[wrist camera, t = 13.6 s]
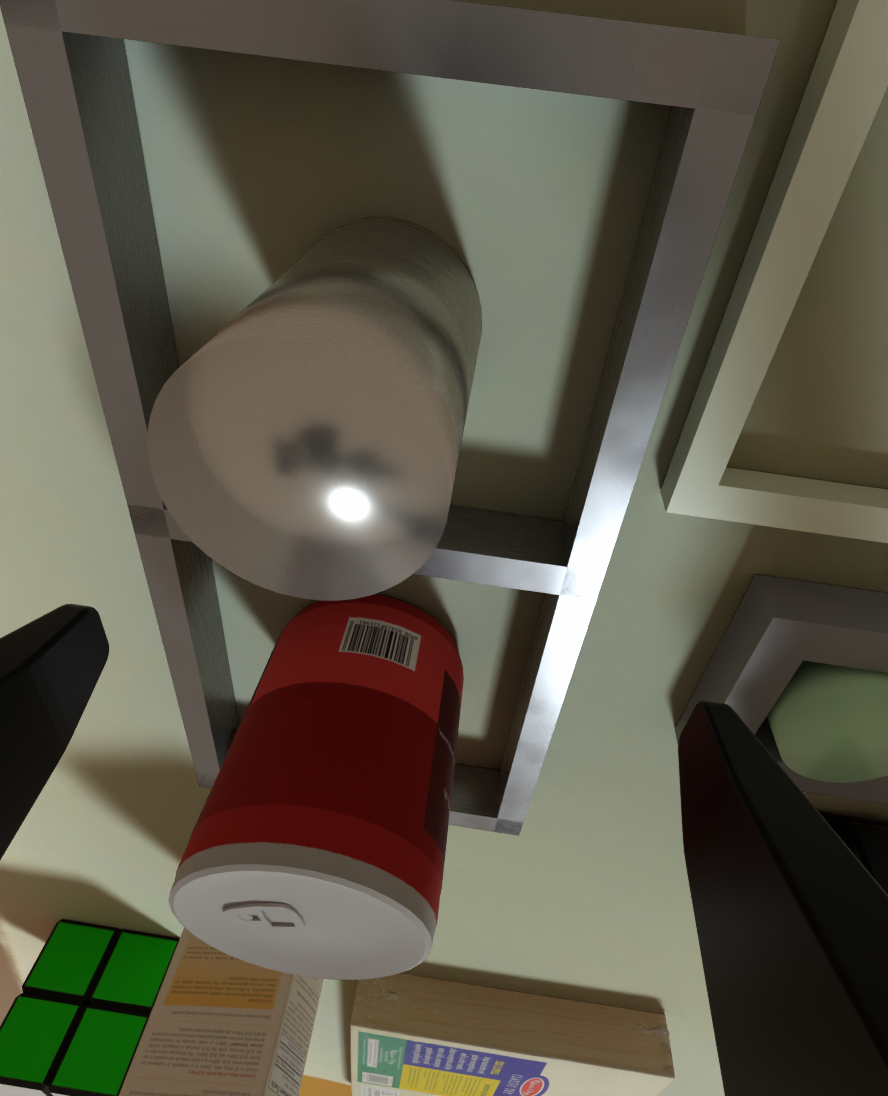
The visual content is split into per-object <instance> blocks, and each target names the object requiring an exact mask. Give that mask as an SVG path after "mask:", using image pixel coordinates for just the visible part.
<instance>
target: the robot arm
mask: <svg viewBox="0 0 888 1096" xmlns="http://www.w3.org/2000/svg"><path fill="white" fill-rule="evenodd" d="M108 655H109V643H108V640H107V637H106V634H105V631H104V628H103V625H102V622H101V619H100V616H99V613H98V611H97V610H96V609H95V608H93V607H89V606H82V605H76V604H66V605H63V606H61V607H59V608H57V609H55V610H53V611H51V612H49V613H47V614H45V615H44V616H42V617H40V618H38V619H36V620H34V621H32V622H30V623H28V624H27V625H25V626H23V627H21V628H19V629H17V630H15V631H13V632H11V633H10V634H8V635H6V636H4V637H2V638H0V860H1V858H2V857H3V855H4V853H5V851H6V850H7V848H8V846H9V845H10V843H11V841H12V840H13V838H14V836H15V835H16V833H17V831H18V830H19V828H20V826H21V825H22V823H23V821H24V819H25V818H26V816H27V814H28V813H29V811H30V809H31V808H32V806H33V804H34V803H35V801H36V799H37V798H38V796H39V794H40V793H41V791H42V789H43V787H44V786H45V784H46V782H47V781H48V779H49V777H50V776H51V774H52V772H53V771H54V769H55V767H56V766H57V764H58V762H59V760H60V759H61V757H62V755H63V753H64V751H65V750H66V748H67V746H68V744H69V742H70V740H71V738H72V736H73V733H74V731H75V729H76V727H77V725H78V723H79V720H80V718H81V716H82V714H83V712H84V709H85V707H86V705H87V703H88V701H89V698H90V696H91V694H92V692H93V690H94V688H95V685H96V683H97V681H98V679H99V677H100V674H101V672H102V670H103V668H104V666H105V664H106V661H107V658H108ZM678 757H679V776H680V795H681V813H682V832H683V845H684V854H685V861H686V868H687V874H688V880H689V886H690V892H691V898H692V904H693V909H694V915H695V921H696V927H697V933H698V939H699V945H700V951H701V957H702V963H703V969H704V975H705V981H706V986H707V992H708V998H709V1004H710V1010H711V1016H712V1022H713V1028H714V1034H715V1040H716V1046H717V1052H718V1057H719V1063H720V1069H721V1075H722V1081H723V1087H724V1093H725V1096H888V823H883V822H876V821H870V820H863V819H857V818H850V817H844V816H837V815H831V814H824V813H819V812H818V811H817V809H816V808H815V807H814V806H813V805H812V803H811V802H810V801H809V800H808V799H807V797H806V796H805V795H804V794H803V793H802V791H801V790H800V789H799V788H798V787H797V785H796V784H795V783H794V782H793V781H792V779H791V778H790V777H789V776H788V775H787V773H786V772H785V771H784V770H783V769H782V767H781V766H780V765H779V764H778V762H777V761H776V760H775V759H774V758H773V756H772V755H771V754H770V753H769V752H768V750H767V749H766V748H765V747H764V746H763V744H762V743H761V742H760V741H759V740H758V738H757V737H756V736H755V735H754V734H753V732H752V731H751V730H750V729H749V728H748V726H747V725H746V724H745V723H744V722H743V720H742V719H741V718H740V717H739V716H738V714H737V713H736V712H735V711H734V710H733V708H732V707H730V706H729V705H727V704H725V703H720V702H714V701H707V700H700V701H698V702H697V703H696V705H695V706H694V708H693V710H692V712H691V714H690V716H689V718H688V720H687V722H686V723H685V725H684V727H683V729H682V731H681V734H680V737H679V742H678Z"/></svg>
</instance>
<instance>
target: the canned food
mask: <svg viewBox="0 0 888 1096" xmlns="http://www.w3.org/2000/svg"><path fill="white" fill-rule="evenodd" d="M463 680H464V677H463V666H462V663H461V659H460V655H459V652H458V649H457V647H456V644H455V642H454V640H453V638H452V637H451V635H450V634H449V632H448V631H447V630H446V629H445V628H444V627H443V626H442V625H441V624H440V623H439V622H438V621H437V620H436V619H435V618H433V617H432V616H430V615H429V614H428V613H426V612H425V611H423V610H422V609H419V608H417V607H415V606H413V605H411V604H409V603H407V602H404V601H401V600H397V599H394V598H391V597H387V596H381V595H375V594H373V595H370V596H365V597H361V598H356V599H348V600H339V601H321V600H319V601H317V602H315V603H313V604H311V605H309V606H308V607H306V608H305V609H303V610H302V611H301V612H300V613H299V614H298V615H297V616H296V617H295V618H294V619H293V620H292V621H291V622H290V623H289V624H288V625H287V626H286V627H285V628H284V630H283V631H282V633H281V634H280V636H279V638H278V640H277V642H276V644H275V647H274V649H273V651H272V653H271V656H270V658H269V660H268V662H267V665H266V667H265V669H264V672H263V674H262V676H261V678H260V681H259V683H258V685H257V687H256V690H255V692H254V694H253V696H252V699H251V701H250V703H249V706H248V708H247V710H246V712H245V715H244V717H243V719H242V721H241V724H240V726H239V728H238V730H237V733H236V735H235V737H234V740H233V742H232V744H231V746H230V749H229V751H228V753H227V755H226V758H225V760H224V762H223V764H222V767H221V769H220V771H219V774H218V776H217V778H216V780H215V783H214V785H213V787H212V789H211V792H210V794H209V796H208V798H207V801H206V803H205V805H204V808H203V810H202V812H201V814H200V817H199V819H198V821H197V823H196V826H195V828H194V830H193V832H192V835H191V838H190V840H189V843H188V846H187V848H186V850H185V853H184V855H183V857H182V860H181V862H180V864H179V866H178V869H177V872H176V877H175V881H174V884H173V886H172V888H171V891H170V896H169V904H170V907H171V910H172V912H173V914H174V915H175V917H176V918H177V919H178V921H179V922H180V923H181V924H182V925H183V926H184V927H185V928H186V929H188V930H189V931H190V932H191V933H192V934H193V935H195V936H196V937H198V938H199V939H201V940H202V941H204V942H205V943H207V944H208V945H210V946H212V947H214V948H216V949H218V950H220V951H222V952H224V953H226V954H228V955H230V956H233V957H235V958H238V959H240V960H243V961H245V962H248V963H251V964H254V965H258V966H261V967H264V968H267V969H271V970H276V971H280V972H284V973H288V974H294V975H300V976H306V977H312V978H323V979H334V980H360V979H374V978H380V977H385V976H391V975H395V974H398V973H401V972H404V971H407V970H410V969H412V968H413V967H415V966H417V965H419V964H421V963H422V962H423V961H424V960H425V959H426V958H427V956H428V955H429V954H430V951H431V947H432V943H433V935H434V932H435V929H436V926H437V918H438V909H439V900H440V894H441V888H442V880H443V870H444V861H445V851H446V842H447V832H448V823H449V813H450V804H451V794H452V785H453V775H454V766H455V756H456V747H457V737H458V728H459V718H460V709H461V699H462V690H463Z"/></svg>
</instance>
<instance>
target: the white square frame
mask: <svg viewBox="0 0 888 1096" xmlns="http://www.w3.org/2000/svg"><path fill="white" fill-rule="evenodd" d="M887 87H888V0H838V1H837V4H836V7H835V10H834V12H833V15H832V18H831V21H830V23H829V26H828V29H827V32H826V34H825V37H824V40H823V43H822V45H821V48H820V51H819V54H818V57H817V59H816V62H815V65H814V68H813V70H812V73H811V76H810V79H809V81H808V84H807V87H806V90H805V93H804V95H803V98H802V101H801V104H800V106H799V109H798V112H797V115H796V117H795V120H794V123H793V126H792V128H791V131H790V134H789V137H788V140H787V142H786V145H785V148H784V151H783V153H782V156H781V159H780V162H779V164H778V167H777V170H776V173H775V176H774V178H773V181H772V184H771V187H770V189H769V192H768V195H767V198H766V200H765V203H764V206H763V209H762V211H761V214H760V217H759V220H758V223H757V225H756V228H755V231H754V234H753V236H752V239H751V242H750V245H749V247H748V250H747V253H746V256H745V259H744V261H743V264H742V267H741V270H740V272H739V275H738V278H737V281H736V283H735V286H734V289H733V292H732V294H731V297H730V300H729V303H728V306H727V308H726V311H725V314H724V317H723V319H722V322H721V325H720V328H719V330H718V333H717V336H716V339H715V342H714V344H713V347H712V350H711V353H710V355H709V358H708V361H707V364H706V366H705V369H704V372H703V375H702V377H701V380H700V383H699V386H698V389H697V391H696V394H695V397H694V400H693V402H692V405H691V408H690V411H689V413H688V416H687V419H686V422H685V425H684V427H683V430H682V433H681V436H680V438H679V441H678V444H677V447H676V449H675V452H674V455H673V458H672V460H671V463H670V466H669V469H668V472H667V474H666V477H665V480H664V483H663V485H662V488H661V491H660V492H661V496H662V499H663V503H664V506H665V510H666V512H668V513H676V514H683V515H690V516H697V517H704V518H711V519H718V520H725V521H733V522H740V523H747V524H754V525H761V526H768V527H775V528H783V529H790V530H797V531H804V532H811V533H818V534H825V535H832V536H840V537H847V538H854V539H861V540H868V541H875V542H882V543H888V490H887V489H880V488H873V487H865V486H858V485H851V484H844V483H836V482H829V481H822V480H815V479H807V478H800V477H793V476H786V475H778V474H771V473H764V472H757V471H749V470H742V469H735V468H727V467H726V466H727V464H728V461H729V459H730V457H731V454H732V452H733V450H734V447H735V445H736V442H737V440H738V438H739V435H740V433H741V431H742V428H743V426H744V424H745V421H746V419H747V417H748V414H749V412H750V410H751V407H752V405H753V402H754V400H755V398H756V395H757V393H758V391H759V388H760V386H761V384H762V381H763V379H764V377H765V374H766V372H767V370H768V367H769V365H770V363H771V360H772V358H773V355H774V353H775V351H776V348H777V346H778V344H779V341H780V339H781V337H782V334H783V332H784V330H785V327H786V325H787V323H788V320H789V318H790V315H791V313H792V311H793V308H794V306H795V304H796V301H797V299H798V297H799V294H800V292H801V290H802V287H803V285H804V283H805V280H806V278H807V275H808V273H809V271H810V268H811V266H812V264H813V261H814V259H815V257H816V254H817V252H818V250H819V247H820V245H821V243H822V240H823V238H824V235H825V233H826V231H827V228H828V226H829V224H830V221H831V219H832V217H833V214H834V212H835V210H836V207H837V205H838V203H839V200H840V198H841V195H842V193H843V191H844V188H845V186H846V184H847V181H848V179H849V177H850V174H851V172H852V170H853V167H854V165H855V163H856V160H857V158H858V156H859V153H860V151H861V148H862V146H863V144H864V141H865V139H866V137H867V134H868V132H869V130H870V127H871V125H872V123H873V120H874V118H875V116H876V113H877V111H878V108H879V106H880V104H881V101H882V99H883V97H884V94H885V92H886V90H887Z"/></svg>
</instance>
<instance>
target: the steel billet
mask: <svg viewBox="0 0 888 1096" xmlns="http://www.w3.org/2000/svg"><path fill="white" fill-rule="evenodd" d="M481 332H482V312H481V305H480V300H479V295H478V292H477V289H476V286H475V283H474V281H473V279H472V277H471V275H470V273H469V271H468V269H467V268H466V266H465V265H464V263H463V262H462V260H461V259H460V258H459V256H458V255H457V254H456V253H455V252H454V251H453V249H452V248H451V247H450V246H448V245H447V244H446V243H445V242H444V241H443V240H442V239H440V238H439V237H438V236H436V235H435V234H433V233H432V232H430V231H428V230H426V229H425V228H423V227H421V226H419V225H416V224H413V223H411V222H408V221H405V220H400V219H395V218H385V217H374V218H364V219H360V220H356V221H352V222H350V223H347V224H345V225H343V226H340V227H339V228H337V229H335V230H334V231H332V232H331V233H329V234H328V235H327V236H326V237H324V238H323V239H322V240H321V241H320V242H319V243H317V244H316V245H315V246H314V247H313V248H312V249H311V250H310V251H309V252H307V253H306V254H305V255H304V256H303V257H302V258H301V259H300V260H299V261H297V262H296V263H295V264H294V265H293V266H292V267H291V268H290V269H288V270H287V271H286V272H285V273H284V274H283V275H282V276H281V277H280V278H278V279H277V280H276V281H275V282H274V283H273V284H272V285H271V286H270V287H268V288H267V289H266V290H265V291H264V292H263V293H262V294H261V295H260V296H258V297H257V298H256V299H255V300H254V301H253V302H252V303H251V304H250V305H248V306H247V307H246V308H245V309H244V310H243V311H242V312H241V313H239V314H238V315H237V316H236V317H235V318H234V319H233V320H232V321H231V322H229V323H228V324H227V325H226V326H225V327H224V328H223V329H222V330H221V331H219V332H218V333H217V334H216V335H215V336H214V337H213V338H212V339H211V340H209V341H208V342H207V343H206V344H205V345H204V346H203V347H202V348H201V349H199V350H198V351H197V352H196V353H195V354H194V355H193V356H192V357H191V358H189V359H188V360H187V361H186V362H185V363H184V364H183V365H182V366H180V367H179V368H178V369H177V370H176V371H175V372H174V373H173V375H172V376H171V377H170V378H169V379H168V381H167V382H166V383H165V384H164V386H163V388H162V389H161V391H160V393H159V395H158V397H157V398H156V400H155V403H154V406H153V409H152V412H151V415H150V420H149V426H148V432H147V450H148V457H149V464H150V469H151V472H152V476H153V479H154V482H155V485H156V487H157V490H158V492H159V494H160V497H161V499H162V501H163V502H164V504H165V506H166V508H167V509H168V511H169V513H170V514H171V516H172V517H173V519H174V520H175V521H176V523H177V524H178V525H179V527H180V528H181V529H182V531H183V532H184V533H185V534H186V535H187V536H188V537H189V538H190V539H191V541H192V542H193V543H194V544H195V545H196V546H198V547H199V548H200V549H201V550H202V551H203V552H204V553H205V554H206V555H208V556H209V557H210V558H212V559H213V560H214V561H216V562H217V563H218V564H220V565H221V566H222V567H224V568H225V569H227V570H229V571H230V572H232V573H234V574H235V575H237V576H239V577H241V578H243V579H245V580H247V581H249V582H251V583H253V584H255V585H257V586H260V587H263V588H265V589H268V590H270V591H274V592H277V593H280V594H284V595H287V596H292V597H298V598H303V599H311V600H321V601H339V600H348V599H356V598H361V597H365V596H370V595H373V594H376V593H379V592H382V591H384V590H387V589H389V588H391V587H393V586H395V585H397V584H399V583H400V582H402V581H403V580H405V579H406V578H408V577H409V576H411V575H412V574H413V573H414V572H416V571H417V570H418V569H419V568H420V567H421V566H422V565H423V564H424V563H425V562H426V560H427V559H428V558H429V557H430V555H431V554H432V553H433V551H434V550H435V548H436V546H437V544H438V543H439V541H440V539H441V536H442V534H443V531H444V528H445V526H446V522H447V517H448V512H449V507H450V501H451V496H452V491H453V485H454V480H455V474H456V469H457V463H458V458H459V453H460V447H461V442H462V436H463V431H464V426H465V420H466V415H467V409H468V404H469V398H470V393H471V388H472V382H473V377H474V371H475V366H476V360H477V355H478V350H479V344H480V339H481Z"/></svg>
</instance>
